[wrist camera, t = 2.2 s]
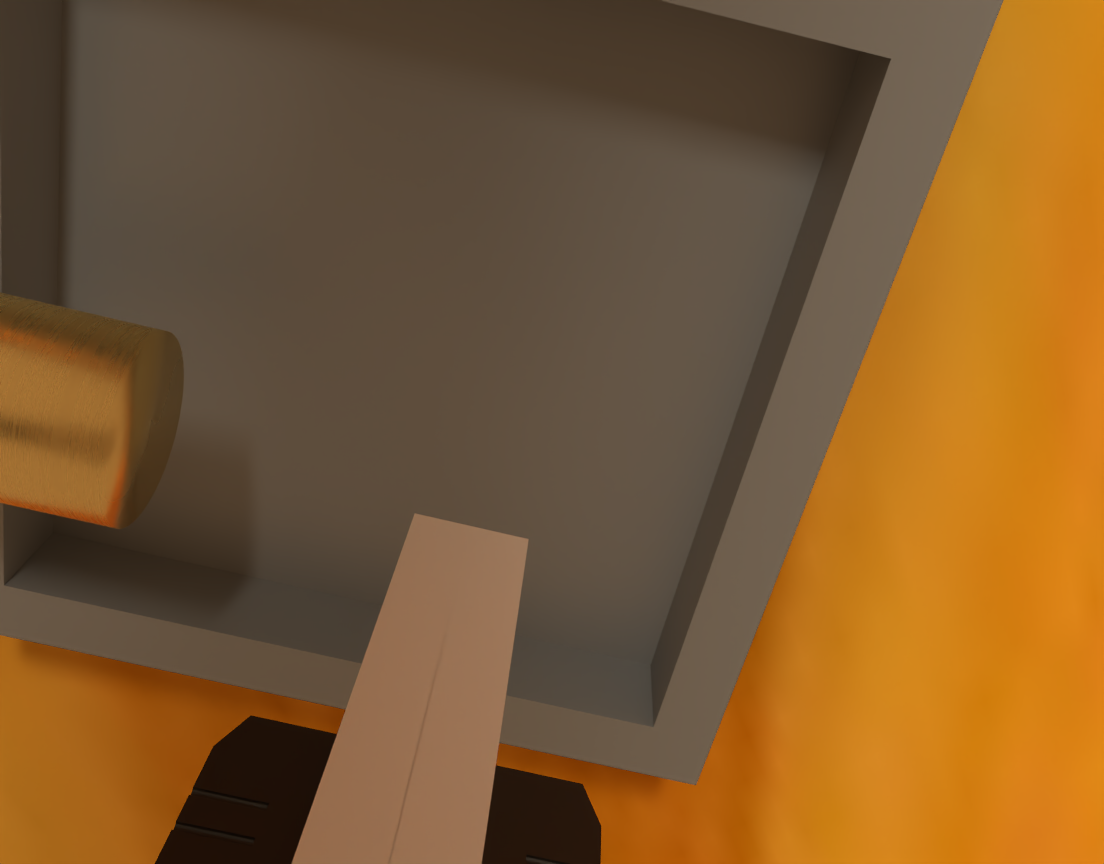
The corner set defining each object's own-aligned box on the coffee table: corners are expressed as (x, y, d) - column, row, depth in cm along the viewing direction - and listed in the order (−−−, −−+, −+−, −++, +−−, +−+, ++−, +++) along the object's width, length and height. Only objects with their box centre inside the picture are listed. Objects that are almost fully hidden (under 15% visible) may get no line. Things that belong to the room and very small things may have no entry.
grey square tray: (6, -264, 16) (-96, -295, 14) (954, -19, 16) (1007, -11, 14) (9, 552, 22) (-59, 622, 20) (688, 701, 23) (696, 784, 21)
